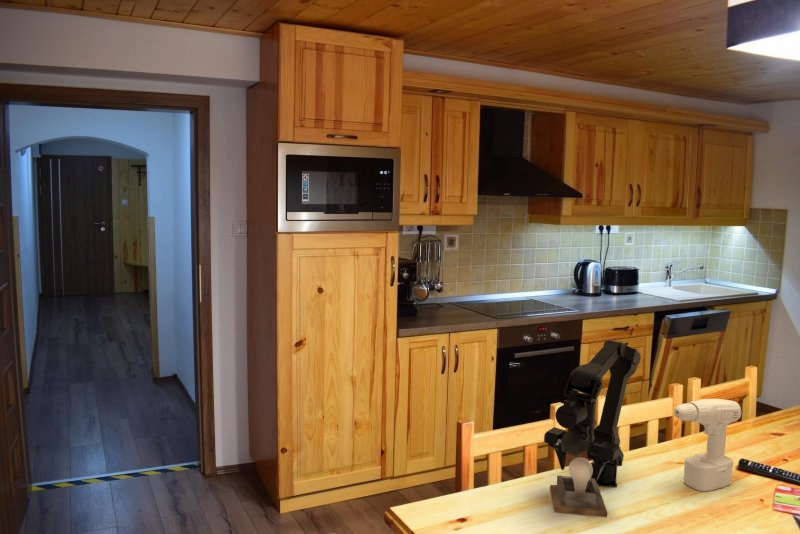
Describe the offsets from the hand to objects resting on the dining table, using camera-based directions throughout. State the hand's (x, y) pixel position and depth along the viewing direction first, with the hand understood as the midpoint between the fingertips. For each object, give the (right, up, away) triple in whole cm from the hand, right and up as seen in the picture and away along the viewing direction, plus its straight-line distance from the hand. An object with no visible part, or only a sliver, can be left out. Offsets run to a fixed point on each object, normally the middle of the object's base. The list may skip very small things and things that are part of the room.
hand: (579, 474), depth 169 cm
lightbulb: (0, -7, +1) cm, 7 cm away
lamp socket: (0, -8, +1) cm, 8 cm away
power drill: (+38, -7, +13) cm, 41 cm away
